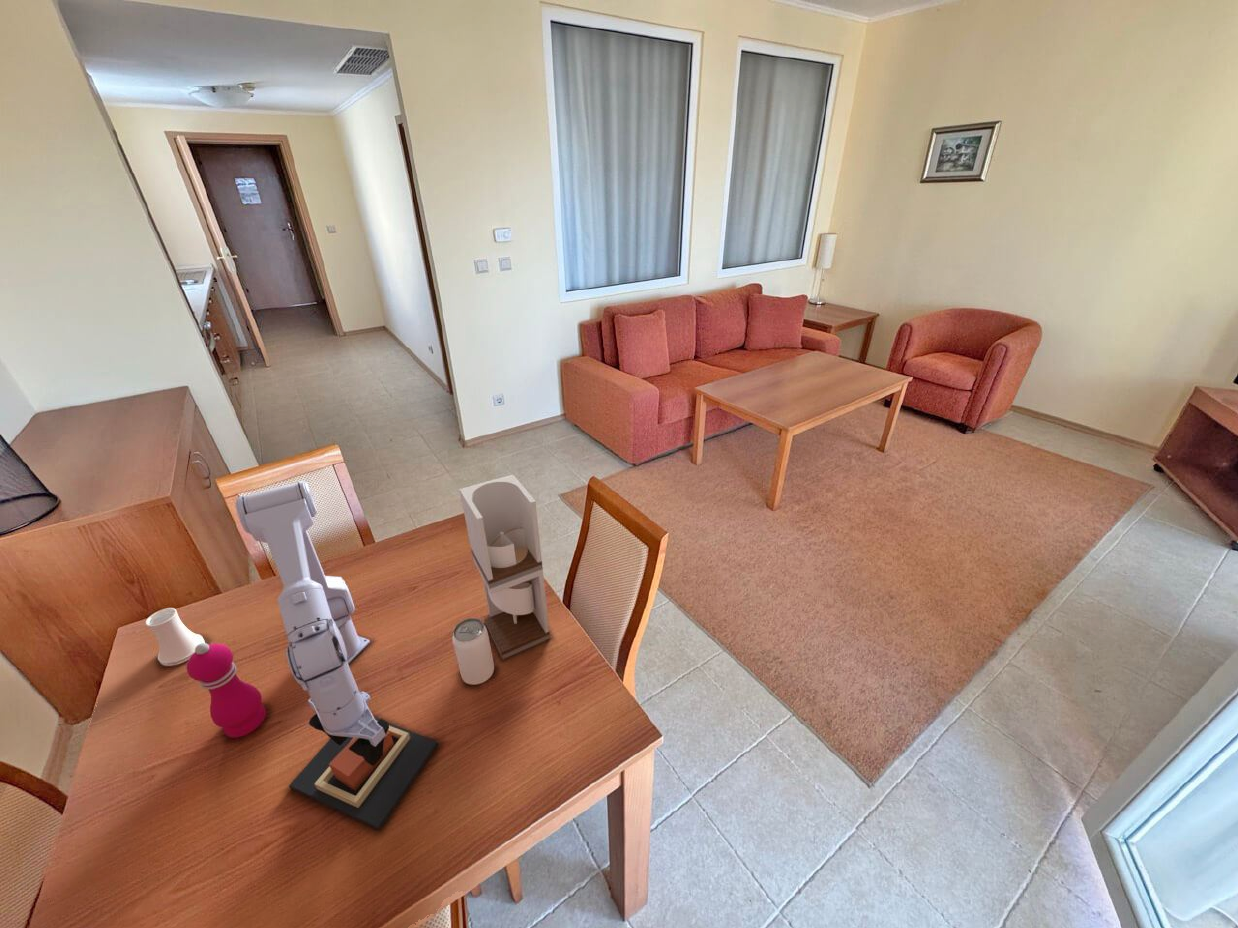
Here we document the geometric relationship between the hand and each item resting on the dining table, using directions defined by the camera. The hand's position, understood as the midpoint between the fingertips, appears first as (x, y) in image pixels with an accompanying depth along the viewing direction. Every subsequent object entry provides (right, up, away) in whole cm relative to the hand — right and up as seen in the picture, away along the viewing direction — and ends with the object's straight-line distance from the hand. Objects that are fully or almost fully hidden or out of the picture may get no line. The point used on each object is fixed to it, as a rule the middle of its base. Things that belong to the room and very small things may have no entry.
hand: (360, 749), depth 81 cm
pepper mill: (-26, -1, +10) cm, 27 cm away
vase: (-50, +7, +24) cm, 56 cm away
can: (+14, +5, +18) cm, 24 cm away
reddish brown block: (0, -3, +2) cm, 4 cm away
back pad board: (0, -4, +2) cm, 5 cm away
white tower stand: (+20, +10, +28) cm, 36 cm away
